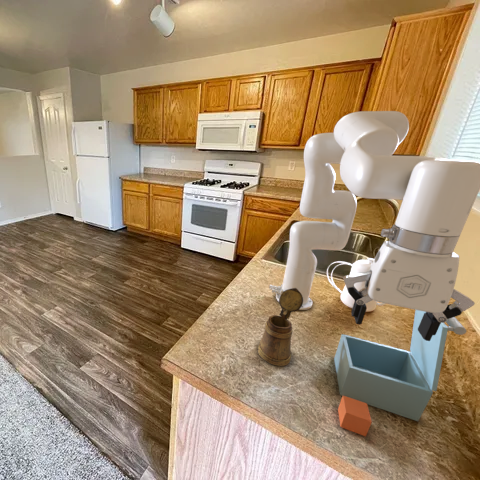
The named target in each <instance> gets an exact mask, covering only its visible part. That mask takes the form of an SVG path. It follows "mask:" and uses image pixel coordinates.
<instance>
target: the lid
mask: <svg viewBox="0 0 480 480" xmlns="http://www.w3.org/2000/svg"><path fill="white" fill-rule="evenodd" d="M424 313H426V312H425V311H419V310H414V319H413V326H412V333H411V338H410V339H411V340H410V348H409V351H410V352H411V353H412V355H413V356H414V358H415V360H416V362H417V364H418V366H419V368H420V370H421V371H422V373H423V375H424V377H425V379H426V381H427V383H428V385H429V386H430V388H431V390H432V391H433V392H437V390H438V385H439V380H440V375H441V371H442V370H441V368H442V364H443V359H444V353H445V348H446V341H447V336H448V332H453V333H454V334H455V335H460V336H463V335H465V334H467V329H466V328H465V326H464V325H463V324H462V323H461V321H459V320H458V319H457V317H453V318H449V319H447V321H446V322H444V323H441V324H440V326H439V328H438V330H437V333H436V335H433V336H432V338H431V340H430V341H426V340H424V339H423V337H422V336H421V334H420V333H419V331H418V327H419V325H420V322H421V320H422V318H423V315H424Z"/></svg>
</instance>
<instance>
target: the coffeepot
mask: <svg viewBox="0 0 480 480" xmlns="http://www.w3.org/2000/svg"><path fill="white" fill-rule="evenodd" d="M374 259H375V258H372V257H367V259H358V260H356V261H355V262H353V263H350V262H347V261H343V260H342V261H341V260H338V261H334V262H331V263H330V266H332V265H333V264H334V265H335V264H337V265H335V268H337V267H340V266H342V265H348V266H350V267H351V268H350V272H349V274H348V275H351V274H356V273H362V272H367V271H369V270H370V267H371V265H372V263H373V261H374ZM338 263H339V264H338ZM330 266H327V268H326V278H327V281H328V282H329V284H330V285H331V286H332V287H333V288H334V289H335V290H336V291H338V292H339V294H340V295H339V296H340V301H341V302H342V303H343V304H344V306H346V307H348V308H350V309H352V308H353V305H354V302H355V300H354V299H353V298H352V296H351V295H350V294H349V293H348V290H347V287H346V285H345V284H344V287H343V289H342V290H341V289H340V288H339V287H338V286H337V285H336V284H335V281H334V279H333V273H334V270H335V268H332V270H331V273H330V276H329V269H330ZM354 287H355V288H356V289H357V290H358V291H360V290H361V289H363V288H365V281H363V282H358V283H355V284H354ZM386 305H387V304H385V303H381V302H378V301H375V300H372V301H370V302H368V303H366V307H367V309H366V312H365V313H369V312H373V311H375V310H376V308H377V307H378V306H380V307H383V306H386Z"/></svg>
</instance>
